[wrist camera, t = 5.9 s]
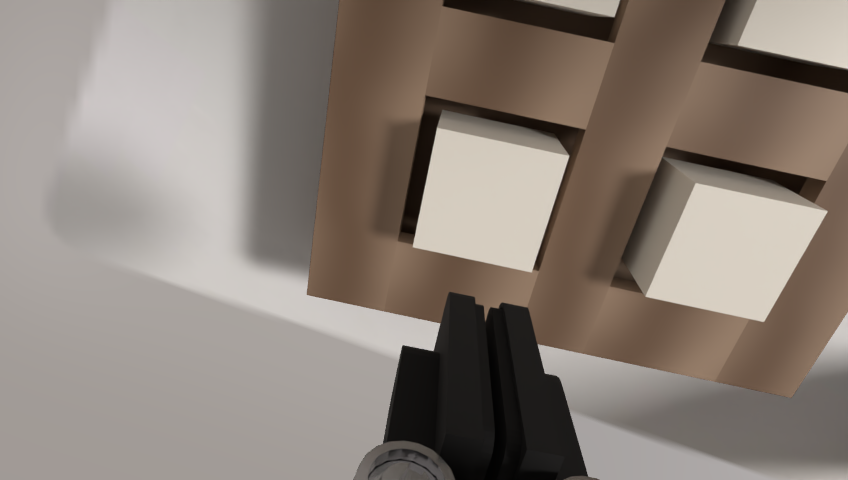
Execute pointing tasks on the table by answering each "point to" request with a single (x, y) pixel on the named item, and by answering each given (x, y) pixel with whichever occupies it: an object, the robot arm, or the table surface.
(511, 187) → the button
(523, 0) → the button
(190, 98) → the table surface
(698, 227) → the button
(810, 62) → the button
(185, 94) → the table surface
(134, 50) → the table surface
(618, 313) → the board
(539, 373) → the robot arm
